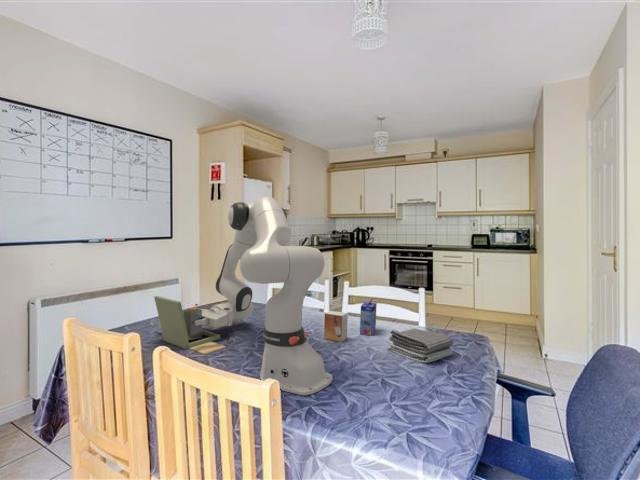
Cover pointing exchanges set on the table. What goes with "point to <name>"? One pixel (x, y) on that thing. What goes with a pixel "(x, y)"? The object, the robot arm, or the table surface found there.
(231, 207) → the robot arm
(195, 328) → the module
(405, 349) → the towel
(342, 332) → the small box
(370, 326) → the juice box
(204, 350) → the pad
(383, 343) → the table surface
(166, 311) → the case
